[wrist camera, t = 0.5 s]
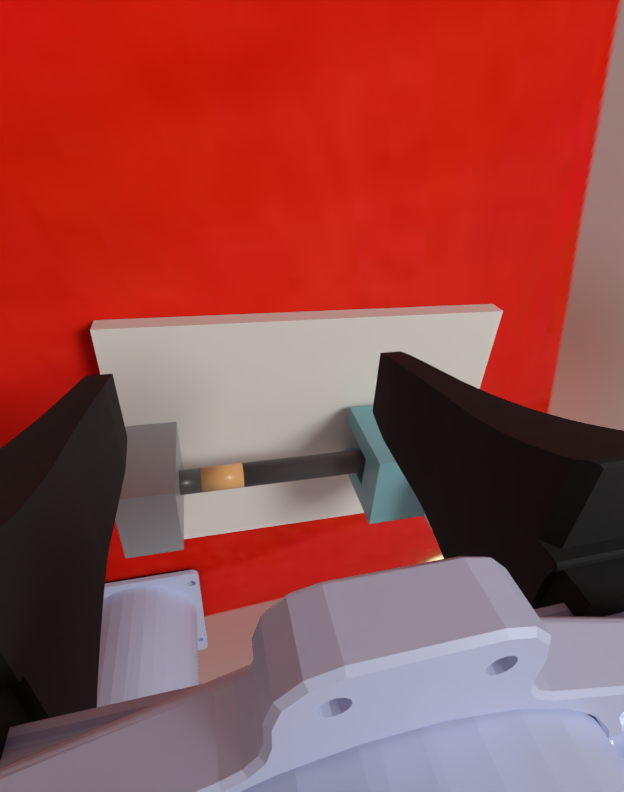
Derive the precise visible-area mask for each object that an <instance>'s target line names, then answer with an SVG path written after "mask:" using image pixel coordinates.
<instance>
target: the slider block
mask: <svg viewBox="0 0 624 792" xmlns="http://www.w3.org/2000/svg"><path fill="white" fill-rule="evenodd" d="M372 411H373V405H369V406H358V407H350V411H349V420H348V425H349V427H350V429H351V431H352V433H353V435H354V437H355V439H356V441H357V443H358V445H359V447H358V448H349V449H345V451H350V450H359V449H361V451H362V453H363V455H364V457H365V459H366V461H365V467H364V472H362V473H354V474H348V476H349V478H350V480H351V483H352V485H353V487H354V490H355V492H356V494H357V497H358V499H359V501H360V504H361V506H362V508H363V511H364V513H365V515H366V518H367V520H368V522H369V524H373V523H379V522H386V521H392V520H399V519H405V518H412V517H418V516H424V517H425V518H426V520H427V522H428V524H429V521H428V519H427V517H426V515H425V512H424V510H423V508H422V506H421V504H420V502H419V501H418V499H417V497H416V495H415V493H414V492H413V490H412V488H411V486H410V485H409V483H408V481H407V480H406V478H405V476H404V475H403V473H402V471H401V469H400V468H399V466H398V464H397V463H396V461H395V459H394V457H393V456H392V454H391V452H390V450H389V449H388V447H387V445H386V443H385V442H384V440H383V438H382V435H381V433H380V430H379V428H378V425H377V423H376V420H375V417H374V415H373V412H372ZM429 526H430V524H429ZM430 527H431V526H430ZM431 529H432V528H431Z"/></svg>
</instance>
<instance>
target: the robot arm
mask: <svg viewBox="0 0 624 792" xmlns="http://www.w3.org/2000/svg"><path fill="white" fill-rule="evenodd" d="M372 412H373V415H374V417H375V420H376V423H377V425H378V428H379V430H380V433H381V435H382V438H383V440H384V442H385V443H386V445H387V447H388V449H389V450H390V452H391V454H392V456H393V457H394V459H395V461H396V463H397V464H398V466H399V468H400V469H401V471H402V473H403V475H404V476H405V478H406V480H407V481H408V483H409V485H410V486H411V488H412V490H413V492H414V493H415V495H416V497H417V499H418V501H419V502H420V504H421V506H422V508H423V510H424V512H425V515H426V517H427V519H428V521H429V524H430V526H431V528H432V531H433V533H434V535H435V537H436V540H437V542H438V545H439V547H440V550H441V552H442V555H443V557H444V559H442V560H437V561H432V562H426V563H421V564H416V565H410V566H405V567H400V568H394V569H389V570H384V571H378V572H373V573H368V574H362V575H357V576H352V577H346V578H341V579H336V580H330V581H325V582H320V583H317V584H314V585H311V586H308V587H306V588H303V589H300V590H297V591H294V592H291V593H288V594H287V595H286V596H285V597H283V598H282V599H281V600H280V601H279V602H277V603H276V604H274V605H273V606H272V607H271V608H269V609H268V610H267V611H266V612H265V613H264V614H263V615H262V616H261V617H260V619H259V622H258V624H257V627H256V630H255V632H254V635H253V637H252V648H253V662H252V664H250V665H248V666H245V667H243V668H240V669H238V670H236V671H233V672H231V673H229V674H226V675H223V676H221V677H218V678H216V679H214V680H211V681H209V682H207V683H204V684H199V681H198V651H199V650H203V649H205V648H206V647H207V645H208V643H207V634H206V627H205V619H204V612H203V604H202V597H201V589H200V582H199V574H198V572H197V571H196V570H185V571H179V572H173V573H167V574H161V575H154V576H148V577H142V578H136V579H130V580H124V581H117V582H111V583H105V577H106V567H107V558H108V552H109V546H110V541H111V536H112V532H113V527H114V522H115V518H116V513H117V508H118V504H119V499H120V495H121V490H122V485H123V480H124V475H125V470H126V456H127V433H126V429H125V425H124V421H123V416H122V412H121V408H120V404H119V399H118V395H117V391H116V386H115V382H114V378H113V374H102V375H89V376H86V377H84V378H83V379H82V380H81V381H80V382H79V383H77V384H76V385H75V386H74V387H73V388H72V389H71V390H70V391H69V392H68V393H67V394H66V395H64V396H63V397H62V398H61V399H60V400H59V401H58V402H57V403H56V404H55V405H53V406H52V407H51V408H50V409H49V410H48V411H47V412H46V413H45V414H43V415H42V416H41V417H40V418H39V419H38V420H36V421H35V422H34V423H33V424H31V425H30V426H29V427H28V428H26V429H25V430H24V431H23V432H21V433H20V434H19V435H18V436H16V437H15V438H14V439H13V440H12V441H10V442H9V443H7V444H6V445H5V446H3V447H2V448H1V449H0V792H624V431H622V430H616V429H610V428H605V427H600V426H595V425H590V424H585V423H581V422H577V421H572V420H568V419H564V418H561V417H557V416H554V415H550V414H546V413H543V412H539V411H536V410H533V409H530V408H527V407H524V406H521V405H518V404H515V403H513V402H510V401H507V400H504V399H502V398H499V397H497V396H494V395H492V394H489V393H487V392H485V391H483V390H480V389H478V388H476V387H474V386H471V385H469V384H467V383H465V382H463V381H461V380H459V379H457V378H455V377H453V376H451V375H449V374H447V373H445V372H443V371H441V370H439V369H437V368H435V367H433V366H431V365H429V364H427V363H425V362H423V361H421V360H419V359H417V358H415V357H413V356H411V355H409V354H406V353H404V352H401V351H398V352H385V353H380V360H379V367H378V375H377V382H376V389H375V396H374V403H373V411H372Z"/></svg>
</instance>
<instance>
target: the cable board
mask: <svg viewBox="0 0 624 792" xmlns="http://www.w3.org/2000/svg"><path fill="white" fill-rule="evenodd" d="M502 313H503V311H502V310H501V309H499V308H498V307H496V306H495V305H493V304H476V305H451V306H427V307H403V308H379V309H355V310H331V311H306V312H282V313H258V314H234V315H210V316H186V317H161V318H137V319H113V320H94V321H93V323H92V326H91V329H90V332H91V336H92V341H93V345H94V349H95V354H96V358H97V362H98V366H99V371H100V375H102V374H113V378H114V382H115V386H116V391H117V395H118V399H119V404H120V408H121V412H122V416H123V421H124V425H125V429H126V433H127V456H126V470H125V475H124V480H123V485H122V490H121V495H120V499H119V504H118V508H117V513H116V518H115V520H116V524H117V528H118V531H119V535H120V539H121V543H122V546H123V550H124V554H125V558H131V557H138V556H144V555H151V554H157V553H164V552H171V551H177V550H184V539H189V538H196V537H202V536H209V535H216V534H223V533H230V532H237V531H243V530H250V529H257V528H264V527H271V526H277V525H284V524H291V523H298V522H305V521H311V520H318V519H325V518H332V517H339V516H346V515H352V514H359V513H364V511H363V508H362V506H361V504H360V501H359V499H358V497H357V494H356V492H355V490H354V487H353V485H352V483H351V480H350V478H349V476H348V474H354V473H362V472H364V467H365V461H366V459H365V457H364V455H363V453H362V451H361V449H359V450H350V451H345V449H349V448H358V447H359V445H358V443H357V441H356V439H355V437H354V435H353V433H352V431H351V429H350V427H349V425H348V420H349V411H350V407H358V406H369V405H373V403H374V396H375V389H376V382H377V375H378V367H379V360H380V353H385V352H398V351H401V352H404V353H406V354H409V355H411V356H413V357H415V358H417V359H419V360H421V361H423V362H425V363H427V364H429V365H431V366H433V367H435V368H437V369H439V370H441V371H443V372H445V373H447V374H449V375H451V376H453V377H455V378H457V379H459V380H461V381H463V382H465V383H467V384H469V385H471V386H474V387H476V388H478V389H480V385H481V382H482V379H483V375H484V372H485V369H486V365H487V362H488V359H489V356H490V352H491V349H492V346H493V342H494V339H495V336H496V332H497V329H498V326H499V323H500V319H501V316H502Z"/></svg>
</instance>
